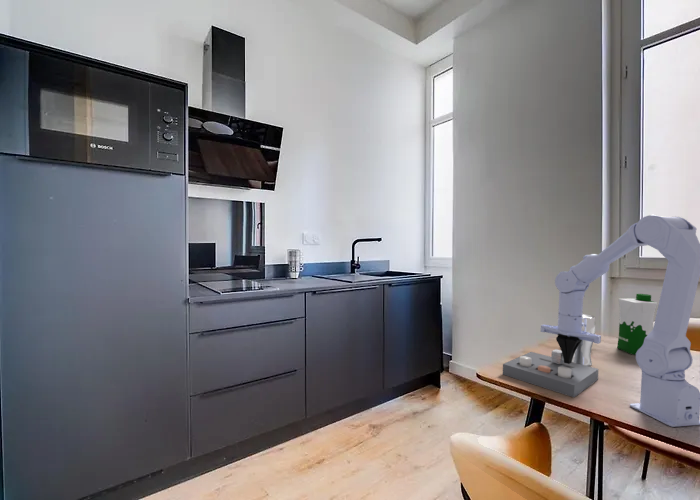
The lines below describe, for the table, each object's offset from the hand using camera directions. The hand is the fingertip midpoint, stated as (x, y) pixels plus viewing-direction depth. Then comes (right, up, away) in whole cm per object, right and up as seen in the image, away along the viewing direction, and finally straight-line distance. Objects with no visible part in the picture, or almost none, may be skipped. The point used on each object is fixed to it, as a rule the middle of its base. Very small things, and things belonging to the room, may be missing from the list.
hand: (567, 362), depth 100 cm
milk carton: (+38, -4, +24) cm, 45 cm away
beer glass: (+11, -4, +11) cm, 16 cm away
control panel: (-5, -4, -1) cm, 7 cm away
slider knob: (-2, -1, +2) cm, 3 cm away
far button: (-12, -2, +1) cm, 12 cm away
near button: (-5, -3, -7) cm, 9 cm away
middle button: (-8, -4, -3) cm, 10 cm away
